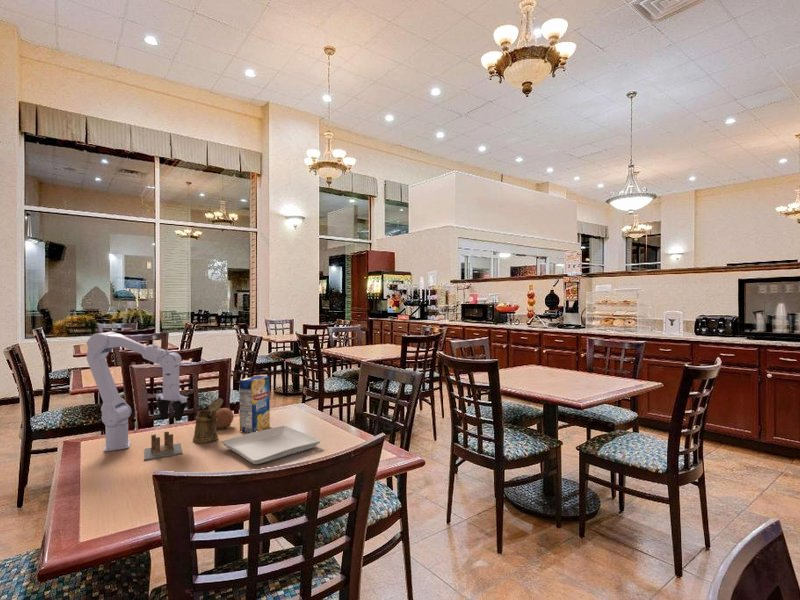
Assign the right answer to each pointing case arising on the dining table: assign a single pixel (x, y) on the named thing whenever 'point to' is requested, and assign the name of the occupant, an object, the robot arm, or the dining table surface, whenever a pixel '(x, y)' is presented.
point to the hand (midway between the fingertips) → (171, 419)
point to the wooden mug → (207, 423)
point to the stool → (163, 448)
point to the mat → (177, 451)
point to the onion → (224, 418)
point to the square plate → (270, 444)
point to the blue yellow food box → (254, 403)
